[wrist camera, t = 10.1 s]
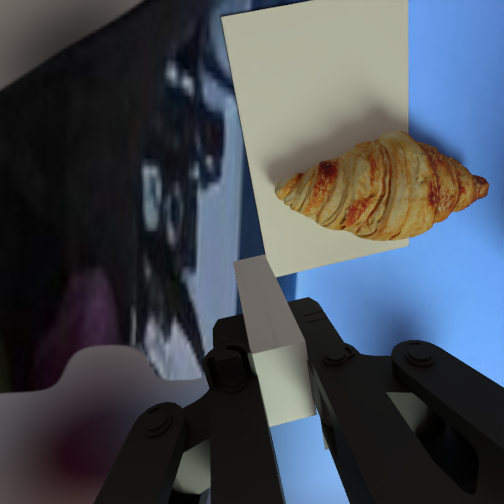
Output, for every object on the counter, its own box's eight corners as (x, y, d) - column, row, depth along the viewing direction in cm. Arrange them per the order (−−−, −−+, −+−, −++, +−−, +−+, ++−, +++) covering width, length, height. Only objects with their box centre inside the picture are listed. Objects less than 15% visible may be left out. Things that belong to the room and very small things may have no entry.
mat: (406, -16, 27) (408, -17, 27) (407, 245, 36) (408, 245, 36) (221, 17, 26) (221, 17, 26) (269, 277, 35) (270, 278, 35)
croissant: (265, 209, 35) (277, 265, 30) (274, 121, 28) (291, 175, 22) (442, 202, 38) (482, 253, 32) (495, 119, 30) (558, 168, 25)
